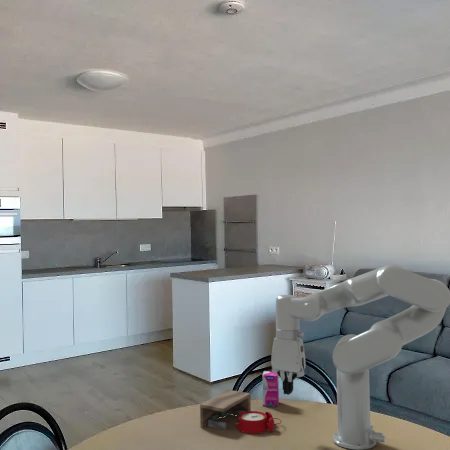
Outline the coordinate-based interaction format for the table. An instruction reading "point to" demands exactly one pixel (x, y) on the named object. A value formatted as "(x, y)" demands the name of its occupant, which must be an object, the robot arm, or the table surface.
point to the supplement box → (270, 389)
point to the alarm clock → (255, 422)
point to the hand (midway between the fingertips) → (287, 393)
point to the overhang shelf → (223, 408)
